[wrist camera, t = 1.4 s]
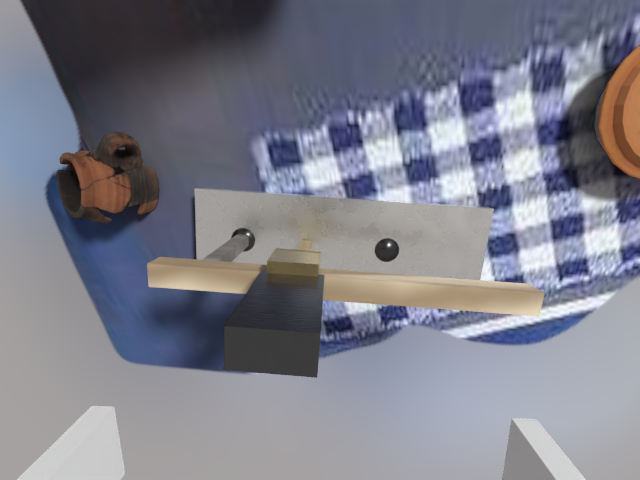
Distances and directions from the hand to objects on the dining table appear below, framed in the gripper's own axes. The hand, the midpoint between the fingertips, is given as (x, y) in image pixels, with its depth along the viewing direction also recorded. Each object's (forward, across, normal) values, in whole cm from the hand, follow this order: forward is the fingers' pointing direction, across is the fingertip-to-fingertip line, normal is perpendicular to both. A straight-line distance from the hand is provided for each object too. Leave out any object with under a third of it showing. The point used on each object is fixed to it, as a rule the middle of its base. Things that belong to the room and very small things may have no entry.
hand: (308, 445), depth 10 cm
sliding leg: (+29, -2, 0) cm, 29 cm away
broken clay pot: (+31, -26, +8) cm, 41 cm away
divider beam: (+29, +2, 0) cm, 29 cm away
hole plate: (+31, +2, 0) cm, 31 cm away
